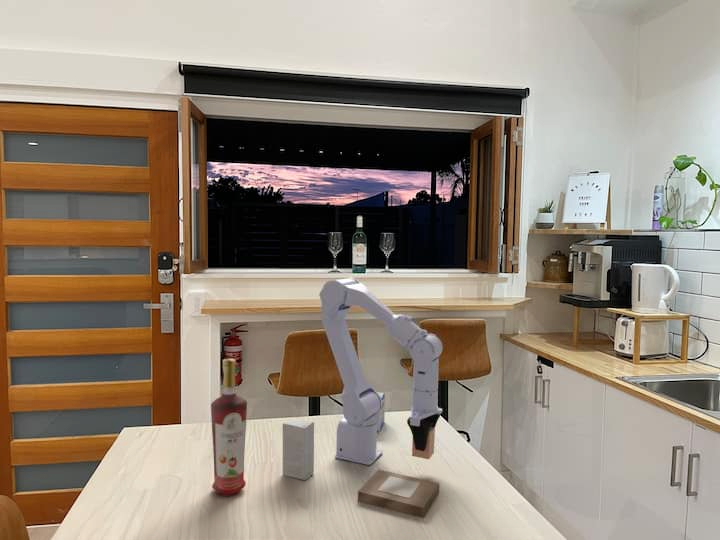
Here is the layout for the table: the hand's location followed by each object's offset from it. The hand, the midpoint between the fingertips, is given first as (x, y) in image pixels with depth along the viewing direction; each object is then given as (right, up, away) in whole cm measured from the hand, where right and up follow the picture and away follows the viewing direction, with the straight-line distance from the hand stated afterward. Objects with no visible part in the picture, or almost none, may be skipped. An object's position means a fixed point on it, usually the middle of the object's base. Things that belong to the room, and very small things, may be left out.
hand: (423, 446), depth 120 cm
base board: (-6, -7, -11) cm, 14 cm away
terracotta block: (0, -2, 0) cm, 2 cm away
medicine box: (-10, -4, +28) cm, 30 cm away
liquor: (-42, -6, -10) cm, 44 cm away
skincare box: (-29, -6, -2) cm, 29 cm away
